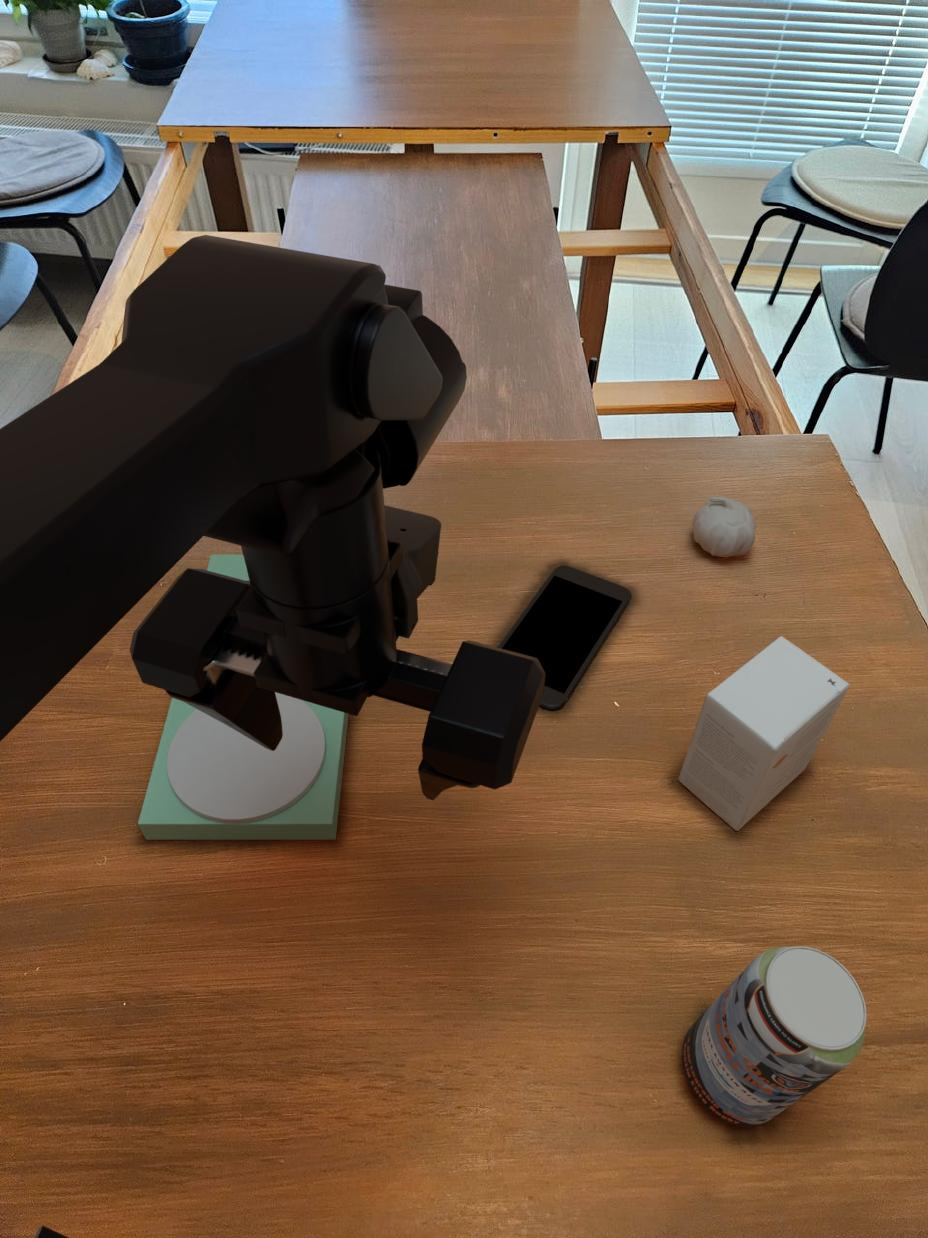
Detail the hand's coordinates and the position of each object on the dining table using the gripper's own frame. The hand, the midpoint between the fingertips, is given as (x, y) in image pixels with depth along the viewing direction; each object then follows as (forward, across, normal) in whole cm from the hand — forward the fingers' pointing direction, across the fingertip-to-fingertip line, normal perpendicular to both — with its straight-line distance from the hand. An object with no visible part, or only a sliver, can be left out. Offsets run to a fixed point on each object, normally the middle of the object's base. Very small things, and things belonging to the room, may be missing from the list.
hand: (353, 767), depth 48 cm
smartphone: (+15, -6, -26) cm, 30 cm away
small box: (+15, -22, -17) cm, 31 cm away
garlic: (+15, -17, -41) cm, 46 cm away
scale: (+15, +14, -12) cm, 24 cm away
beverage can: (+15, -24, +3) cm, 29 cm away
